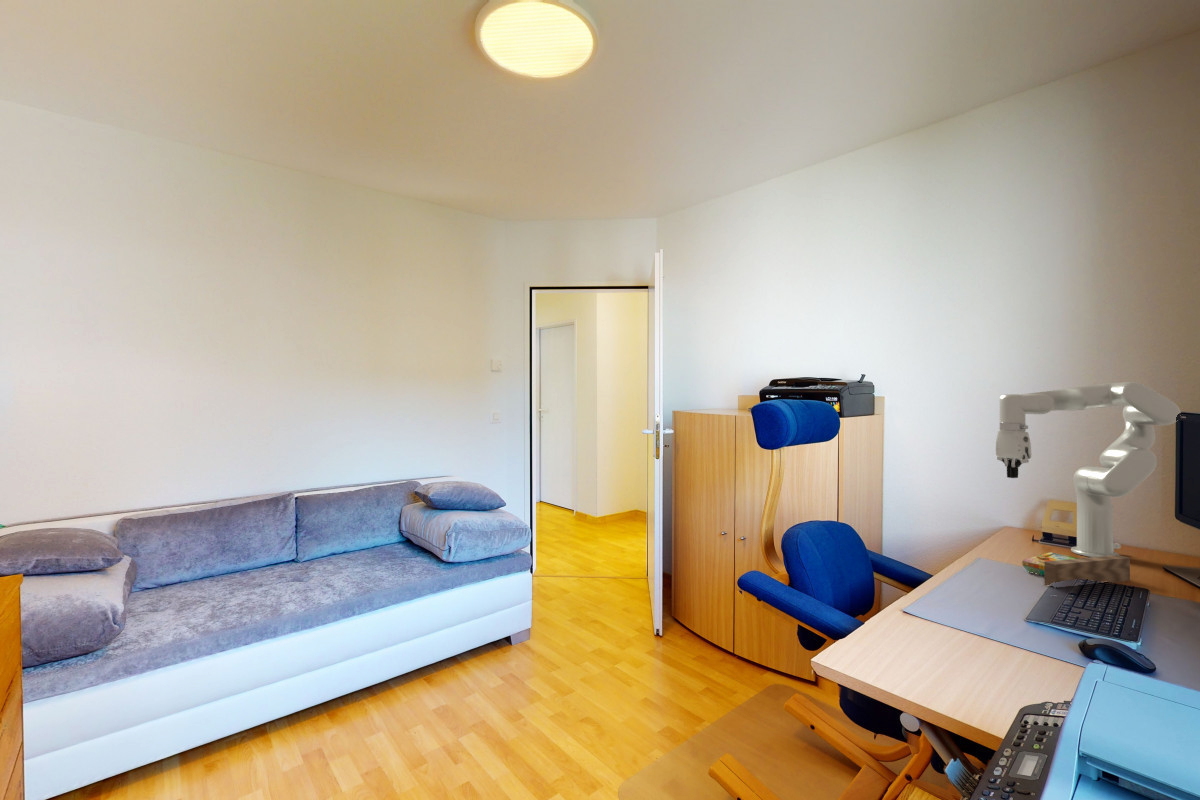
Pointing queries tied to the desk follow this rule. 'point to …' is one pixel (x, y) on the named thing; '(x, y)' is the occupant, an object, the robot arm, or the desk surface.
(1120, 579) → the rail
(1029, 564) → the puzzle game
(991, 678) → the desk surface
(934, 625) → the desk surface
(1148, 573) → the desk surface
